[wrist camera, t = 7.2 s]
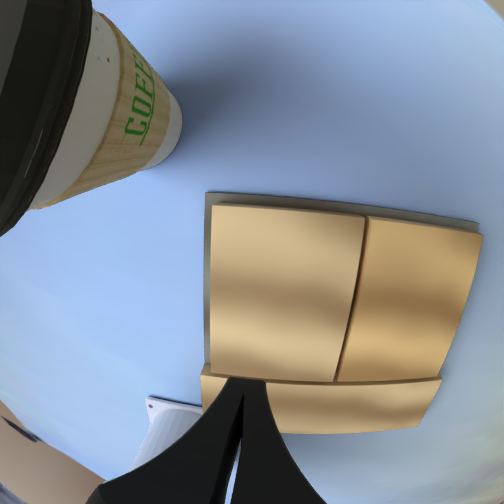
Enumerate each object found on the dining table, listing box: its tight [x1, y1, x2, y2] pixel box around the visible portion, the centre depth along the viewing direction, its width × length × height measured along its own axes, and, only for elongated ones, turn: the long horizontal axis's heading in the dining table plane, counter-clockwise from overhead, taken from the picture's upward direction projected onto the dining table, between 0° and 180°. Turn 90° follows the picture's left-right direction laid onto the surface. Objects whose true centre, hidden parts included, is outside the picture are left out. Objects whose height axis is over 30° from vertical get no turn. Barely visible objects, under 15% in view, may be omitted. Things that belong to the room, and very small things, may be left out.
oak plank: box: [335, 216, 483, 382], centre depth 18 cm, size 12×9×1 cm
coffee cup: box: [0, 0, 183, 237], centre depth 11 cm, size 10×10×15 cm
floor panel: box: [200, 192, 479, 434], centre depth 20 cm, size 19×20×2 cm
